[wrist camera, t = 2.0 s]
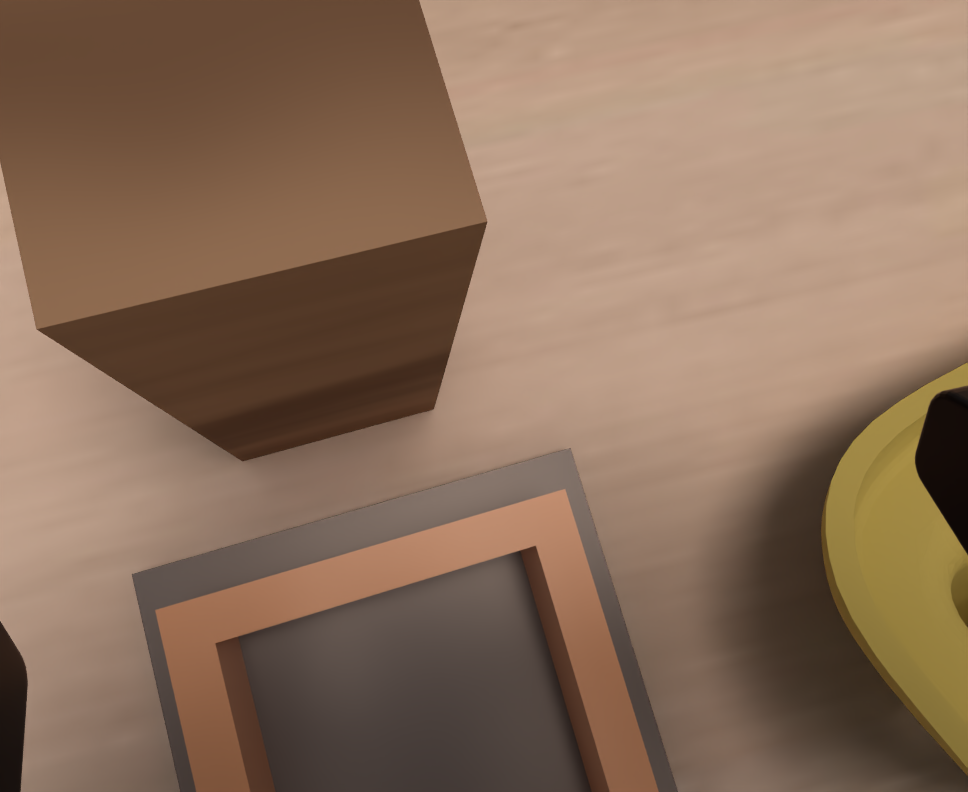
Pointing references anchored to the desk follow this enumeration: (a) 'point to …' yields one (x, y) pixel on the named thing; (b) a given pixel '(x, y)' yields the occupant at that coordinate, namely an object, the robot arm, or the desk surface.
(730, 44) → the desk surface
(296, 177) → the walnut post
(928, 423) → the robot arm
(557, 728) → the socket board
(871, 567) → the plastic component
